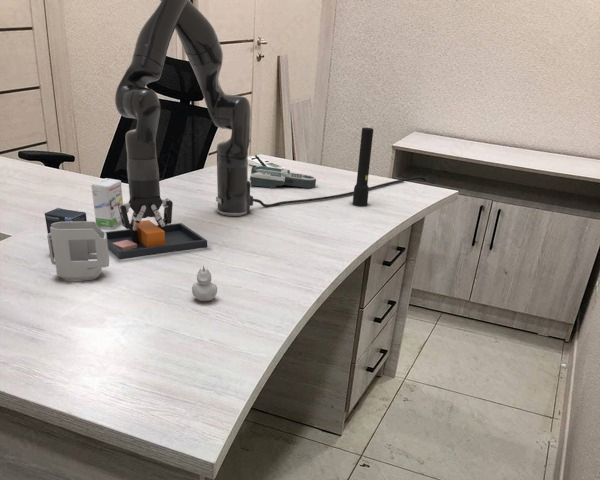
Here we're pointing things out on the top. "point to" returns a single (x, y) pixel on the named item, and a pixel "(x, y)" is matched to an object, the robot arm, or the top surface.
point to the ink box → (107, 201)
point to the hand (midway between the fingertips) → (148, 241)
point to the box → (63, 218)
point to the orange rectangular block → (150, 234)
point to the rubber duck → (204, 286)
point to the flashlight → (363, 169)
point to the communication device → (278, 177)
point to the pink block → (125, 245)
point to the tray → (175, 240)
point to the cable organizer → (78, 249)
